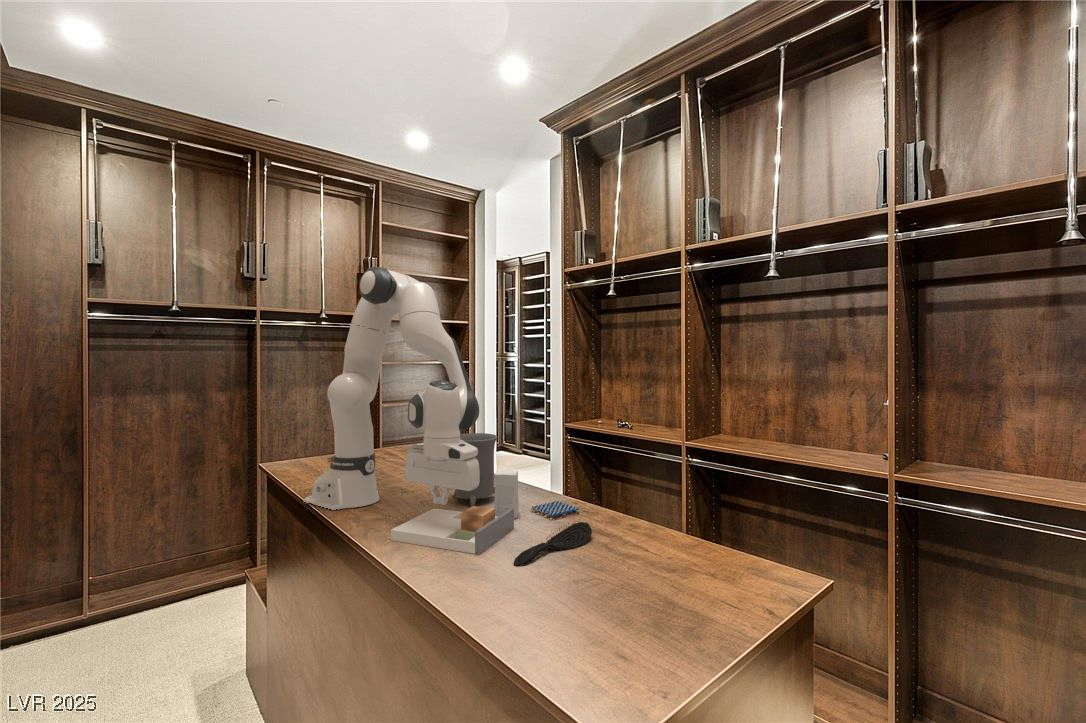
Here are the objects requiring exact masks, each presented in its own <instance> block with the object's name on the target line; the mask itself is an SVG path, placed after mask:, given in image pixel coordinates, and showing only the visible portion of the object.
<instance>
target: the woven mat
mask: <svg viewBox="0 0 1086 723" xmlns="http://www.w3.org/2000/svg"><path fill="white" fill-rule="evenodd" d="M530 510H531V511H530V513H533V514H535V515H537V516H541V517H543V518H545V519H546V520H549V521H554V520H559V519H563V518H566V517H571V516H574V514H575V515H577V514H580V513H581V512H580V508H579V507H578V508H577V507H576V506H573V505H570V504H567V503H565V502H562V501H559V500H558V501H556V500H554V501H550V502H549V503H546V502H545V503H544V504H543V503H542V504H540V505H538V504H536V505H532V506H531V508H530Z"/></svg>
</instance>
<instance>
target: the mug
mask: <svg viewBox="0 0 1086 723" xmlns="http://www.w3.org/2000/svg"><path fill="white" fill-rule="evenodd" d="M459 431H460V439H461V440H463V441H464V442H466V443H468V444H470V445H472V446H474V447H476V448H477V449H478V454H477V456H475V458H476V459H477V460H478V463H479V471H480V482H479V485H478V487H477V488H476V489H474V490H471V491H466V490H459V489H454V492H453V494H452V495H451V496H452V498H456V497H458V498H461V499H465V500H469V503H470V508H471V507H473V506H475V505H476V501H477V500H479V499H480V500H481V499H485V498H489V497H492V496H493V495H495V486H494V474H495V445H496V442H497V439H498V436H497V435H496V434H493V433H492V434H491V433H486V432H485V433H484V432H483V433H482V432H473V433H472V432H470V433H469V432H468V433H463V429H459Z"/></svg>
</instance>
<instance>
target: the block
mask: <svg viewBox="0 0 1086 723" xmlns="http://www.w3.org/2000/svg"><path fill="white" fill-rule="evenodd" d="M461 512H462V513H461V530H464V531H471V532H475V531H477V530H478V529H480V528H481V527H483V526H484V525H486V524H487V523H489V522H490V521H492V520H493V519H495V508H492V507H491V508H489V507H484V506H483V507H482V506H473V507H471V506H470V507H469V508H468V509H466V510H464V511H461Z"/></svg>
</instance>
